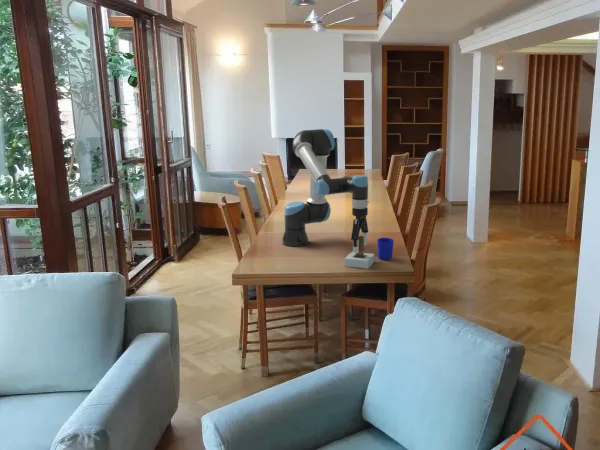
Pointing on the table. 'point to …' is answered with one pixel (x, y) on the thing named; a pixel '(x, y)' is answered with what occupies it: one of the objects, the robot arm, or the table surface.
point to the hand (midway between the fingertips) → (359, 249)
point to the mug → (385, 248)
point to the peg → (360, 247)
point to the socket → (360, 260)
